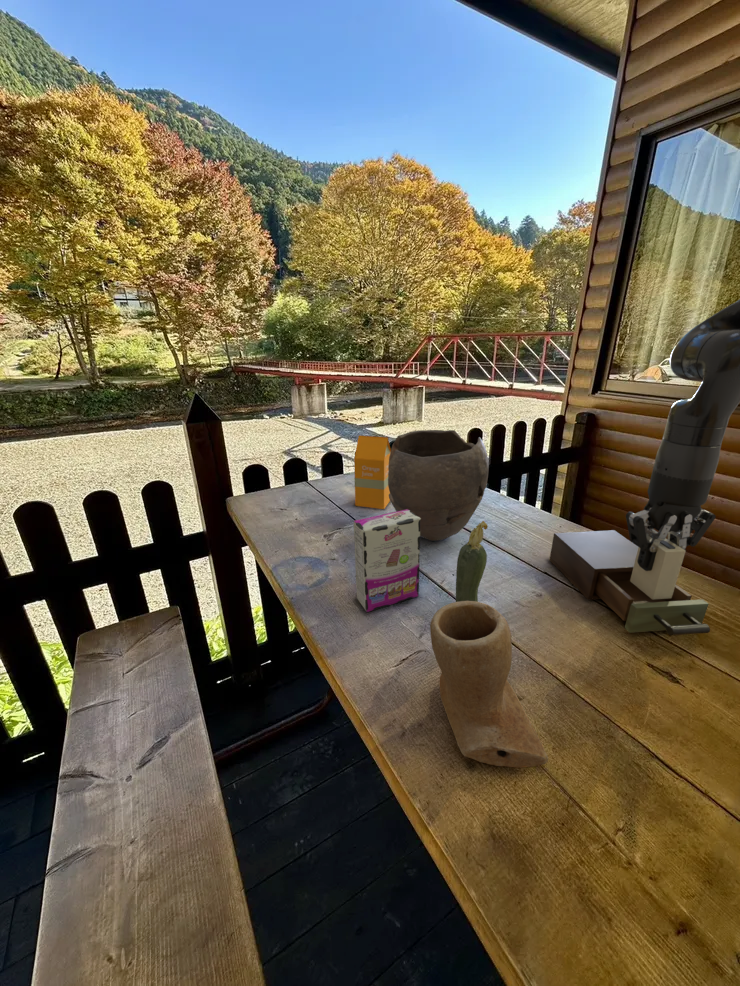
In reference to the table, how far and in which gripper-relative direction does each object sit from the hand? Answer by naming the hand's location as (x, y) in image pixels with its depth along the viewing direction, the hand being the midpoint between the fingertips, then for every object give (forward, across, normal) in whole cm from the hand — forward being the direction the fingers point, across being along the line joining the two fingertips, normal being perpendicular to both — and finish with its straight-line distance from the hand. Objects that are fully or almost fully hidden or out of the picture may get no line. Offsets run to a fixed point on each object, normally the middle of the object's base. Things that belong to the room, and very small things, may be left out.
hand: (656, 567), depth 68 cm
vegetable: (+10, -32, -1) cm, 34 cm away
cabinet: (+10, 0, +12) cm, 16 cm away
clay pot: (+10, -30, +33) cm, 46 cm away
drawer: (+9, 0, -1) cm, 9 cm away
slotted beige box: (+4, 0, 0) cm, 4 cm away
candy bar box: (+9, -44, +9) cm, 46 cm away
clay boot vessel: (+9, -36, -18) cm, 41 cm away
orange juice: (+10, -42, +56) cm, 71 cm away
